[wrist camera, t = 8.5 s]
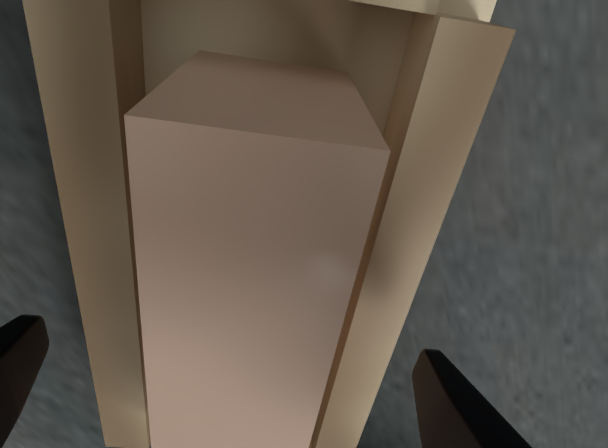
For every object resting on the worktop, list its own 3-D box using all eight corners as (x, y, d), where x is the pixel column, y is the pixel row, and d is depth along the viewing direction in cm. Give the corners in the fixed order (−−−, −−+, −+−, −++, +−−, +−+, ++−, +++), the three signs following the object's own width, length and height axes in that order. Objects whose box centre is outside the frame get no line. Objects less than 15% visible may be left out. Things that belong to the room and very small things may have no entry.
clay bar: (347, 72, 10) (391, 150, 6) (285, 389, 16) (283, 540, 12) (199, 50, 9) (124, 115, 5) (194, 382, 16) (158, 536, 11)
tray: (488, -30, 10) (553, -30, 7) (344, 409, 18) (352, 474, 16) (65, -108, 9) (-20, -137, 6) (127, 394, 17) (101, 461, 15)
